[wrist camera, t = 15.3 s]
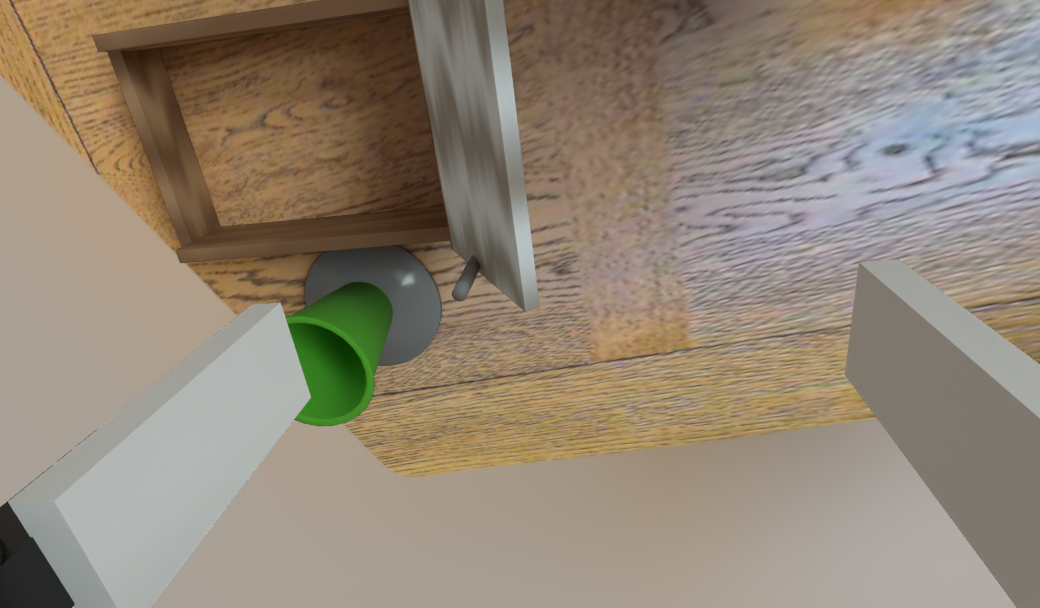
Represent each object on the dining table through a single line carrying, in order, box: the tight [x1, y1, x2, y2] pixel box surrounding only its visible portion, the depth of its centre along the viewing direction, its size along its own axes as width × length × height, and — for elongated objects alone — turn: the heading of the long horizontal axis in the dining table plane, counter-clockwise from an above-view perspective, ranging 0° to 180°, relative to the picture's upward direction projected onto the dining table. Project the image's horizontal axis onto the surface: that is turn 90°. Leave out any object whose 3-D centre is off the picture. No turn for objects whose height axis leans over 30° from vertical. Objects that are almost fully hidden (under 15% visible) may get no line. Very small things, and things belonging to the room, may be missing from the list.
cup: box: [285, 282, 393, 426], centre depth 46 cm, size 9×9×11 cm
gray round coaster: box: [305, 245, 442, 366], centre depth 51 cm, size 12×12×1 cm
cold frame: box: [92, 0, 540, 312], centre depth 36 cm, size 16×30×19 cm, turn 97°
